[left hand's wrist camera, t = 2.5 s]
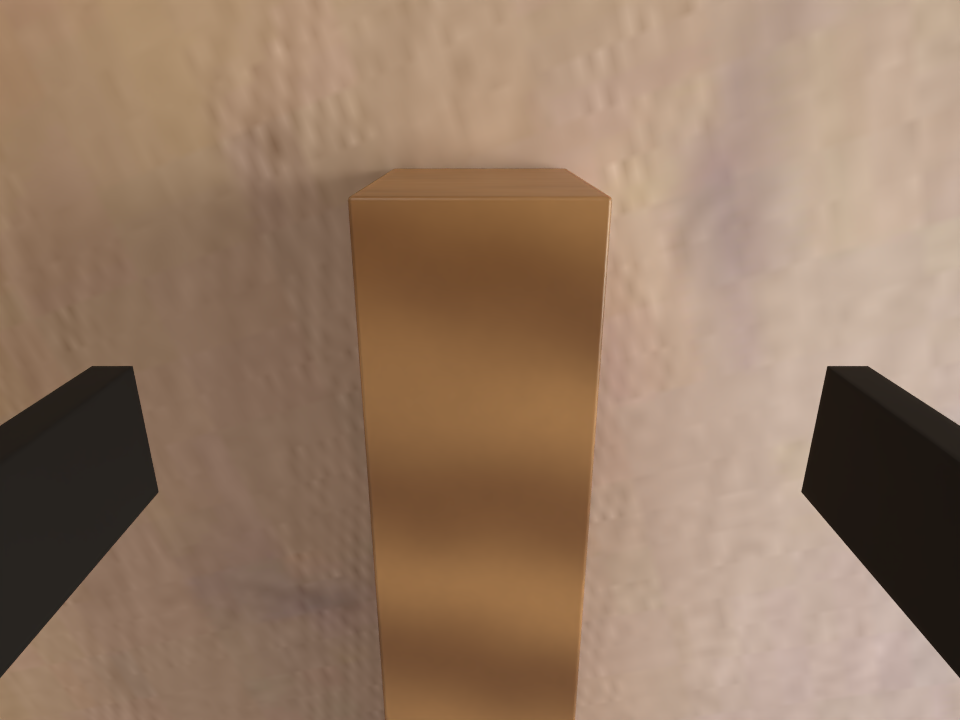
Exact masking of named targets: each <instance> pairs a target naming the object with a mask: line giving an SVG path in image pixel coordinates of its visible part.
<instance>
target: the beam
mask: <svg viewBox="0 0 960 720" xmlns="http://www.w3.org/2000/svg"><path fill="white" fill-rule="evenodd" d="M611 206H612V199H611V197H609V196H608V195H606V194H605V193H603V192H602V191H600V190H598V189H597V188H595V187H594V186H592V185H590V184H589V183H587V182H586V181H584V180H583V179H581V178H579V177H578V176H576V175H575V174H573V173H572V172H570V171H568V170H567V169H393V170H392V171H390V172H388V173H387V174H385V175H384V176H382V177H381V178H379V179H377V180H376V181H374V182H373V183H371V184H369V185H368V186H366V187H365V188H363V189H362V190H360V191H358V192H357V193H355V194H354V195H352V196H350V197H349V199H348V207H349V221H350V235H351V249H352V263H353V277H354V291H355V305H356V319H357V333H358V347H359V361H360V375H361V389H362V403H363V417H364V431H365V445H366V459H367V473H368V487H369V501H370V515H371V529H372V543H373V557H374V571H375V585H376V599H377V613H378V627H379V641H380V655H381V669H382V682H383V696H384V710H385V720H575V710H576V696H577V682H578V668H579V654H580V640H581V626H582V612H583V598H584V584H585V570H586V556H587V542H588V528H589V514H590V500H591V486H592V472H593V458H594V444H595V430H596V416H597V402H598V388H599V374H600V360H601V346H602V332H603V318H604V304H605V290H606V276H607V262H608V248H609V234H610V220H611Z"/></svg>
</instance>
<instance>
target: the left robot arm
mask: <svg viewBox="0 0 960 720" xmlns="http://www.w3.org/2000/svg"><path fill="white" fill-rule="evenodd" d="M157 493H158V487H157V482H156V477H155V472H154V467H153V463H152V458H151V453H150V448H149V443H148V438H147V434H146V429H145V424H144V419H143V414H142V409H141V405H140V400H139V395H138V390H137V385H136V380H135V376H134V371H133V366H92V367H90V368H89V369H87V370H86V371H84V372H82V373H81V374H79V375H78V376H76V377H75V378H73V379H72V380H70V381H69V382H67V383H65V384H64V385H62V386H61V387H59V388H58V389H56V390H55V391H53V392H52V393H50V394H49V395H47V396H45V397H44V398H42V399H41V400H39V401H38V402H36V403H35V404H33V405H32V406H30V407H28V408H27V409H25V410H24V411H22V412H21V413H19V414H18V415H16V416H15V417H13V418H12V419H10V420H8V421H7V422H5V423H4V424H2V425H1V426H0V678H1V676H2V675H3V674H4V673H5V672H6V671H7V669H8V668H9V667H10V666H11V665H12V663H13V662H14V661H15V660H16V659H17V658H18V656H19V655H20V654H21V653H22V652H23V651H24V649H25V648H26V647H27V646H28V645H29V644H30V642H31V641H32V640H33V639H34V638H35V636H36V635H37V634H38V633H39V632H40V631H41V629H42V628H43V627H44V626H45V625H46V624H47V622H48V621H49V620H50V619H51V618H52V617H53V615H54V614H55V613H56V612H57V611H58V609H59V608H60V607H61V606H62V605H63V604H64V602H65V601H66V600H67V599H68V598H69V597H70V595H71V594H72V593H73V592H74V591H75V590H76V588H77V587H78V586H79V585H80V584H81V582H82V581H83V580H84V579H85V578H86V577H87V575H88V574H89V573H90V572H91V571H92V570H93V568H94V567H95V566H96V565H97V564H98V562H99V561H100V560H101V559H102V558H103V557H104V555H105V554H106V553H107V552H108V551H109V550H110V548H111V547H112V546H113V545H114V544H115V543H116V541H117V540H118V539H119V538H120V537H121V535H122V534H123V533H124V532H125V531H126V530H127V528H128V527H129V526H130V525H131V524H132V523H133V521H134V520H135V519H136V518H137V517H138V516H139V514H140V513H141V512H142V511H143V510H144V508H145V507H146V506H147V505H148V504H149V503H150V501H151V500H152V499H153V498H154V497H155V496H156V494H157ZM802 493H803V494H804V496H805V497H806V498H807V499H808V500H809V501H810V503H811V504H812V505H813V506H814V507H815V508H816V510H817V511H818V512H819V513H820V514H821V516H822V517H823V518H824V519H825V520H826V521H827V523H828V524H829V525H830V526H831V527H832V528H833V530H834V531H835V532H836V533H837V534H838V535H839V537H840V538H841V539H842V540H843V541H844V543H845V544H846V545H847V546H848V547H849V548H850V550H851V551H852V552H853V553H854V554H855V555H856V557H857V558H858V559H859V560H860V561H861V563H862V564H863V565H864V566H865V567H866V568H867V570H868V571H869V572H870V573H871V574H872V575H873V577H874V578H875V579H876V580H877V581H878V582H879V584H880V585H881V586H882V587H883V588H884V590H885V591H886V592H887V593H888V594H889V595H890V597H891V598H892V599H893V600H894V601H895V602H896V604H897V605H898V606H899V607H900V608H901V609H902V611H903V612H904V613H905V614H906V615H907V617H908V618H909V619H910V620H911V621H912V622H913V624H914V625H915V626H916V627H917V628H918V629H919V631H920V632H921V633H922V634H923V635H924V636H925V638H926V639H927V640H928V641H929V642H930V644H931V645H932V646H933V647H934V648H935V649H936V651H937V652H938V653H939V654H940V655H941V656H942V658H943V659H944V660H945V661H946V662H947V663H948V665H949V666H950V667H951V668H952V669H953V671H954V672H955V673H956V674H957V675H958V676H959V678H960V426H959V425H958V424H956V423H955V422H953V421H952V420H950V419H948V418H947V417H945V416H944V415H942V414H941V413H939V412H938V411H936V410H935V409H933V408H932V407H930V406H928V405H927V404H925V403H924V402H922V401H921V400H919V399H918V398H916V397H915V396H913V395H911V394H910V393H908V392H907V391H905V390H904V389H902V388H901V387H899V386H898V385H896V384H895V383H893V382H891V381H890V380H888V379H887V378H885V377H884V376H882V375H881V374H879V373H878V372H876V371H874V370H873V369H871V368H870V367H868V366H827V371H826V376H825V380H824V385H823V390H822V395H821V400H820V405H819V409H818V414H817V419H816V424H815V429H814V434H813V438H812V443H811V448H810V453H809V458H808V463H807V467H806V472H805V477H804V482H803V487H802Z"/></svg>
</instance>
